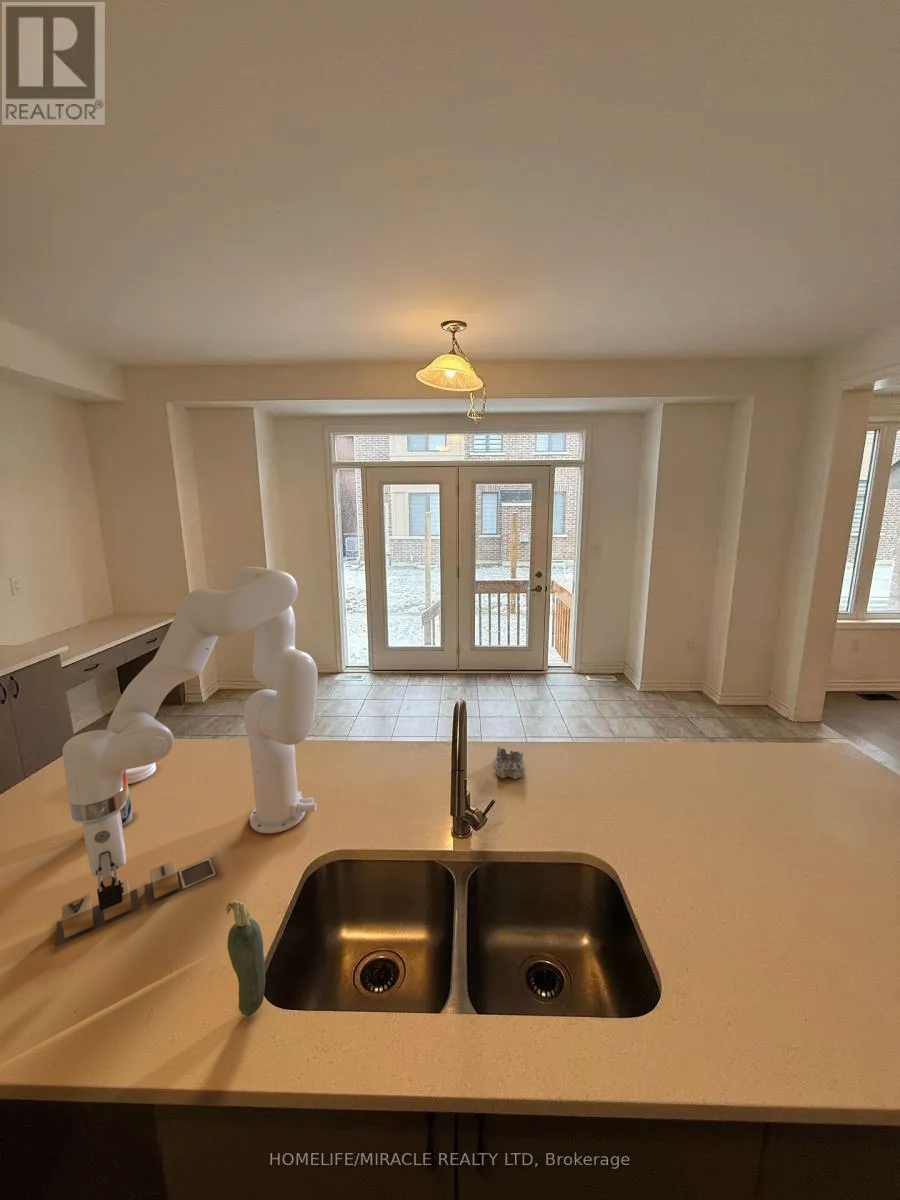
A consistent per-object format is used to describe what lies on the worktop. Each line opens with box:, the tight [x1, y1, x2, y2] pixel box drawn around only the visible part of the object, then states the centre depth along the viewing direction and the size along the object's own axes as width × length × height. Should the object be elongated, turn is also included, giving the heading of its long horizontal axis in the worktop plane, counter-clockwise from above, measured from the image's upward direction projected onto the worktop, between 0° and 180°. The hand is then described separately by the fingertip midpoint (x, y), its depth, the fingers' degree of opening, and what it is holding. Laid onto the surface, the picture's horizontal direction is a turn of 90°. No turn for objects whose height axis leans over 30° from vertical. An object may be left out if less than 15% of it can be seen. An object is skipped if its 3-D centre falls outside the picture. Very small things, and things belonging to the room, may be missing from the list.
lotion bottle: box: [120, 770, 133, 827], centre depth 106 cm, size 6×6×20 cm
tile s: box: [103, 878, 132, 921], centre depth 84 cm, size 4×4×4 cm
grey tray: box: [144, 857, 219, 907], centre depth 91 cm, size 12×6×4 cm, turn 128°
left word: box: [55, 888, 141, 948], centre depth 83 cm, size 12×6×4 cm, turn 128°
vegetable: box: [225, 899, 266, 1020], centre depth 65 cm, size 4×4×20 cm
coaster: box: [126, 762, 157, 785], centre depth 127 cm, size 10×10×4 cm
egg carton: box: [495, 746, 524, 780], centre depth 130 cm, size 11×8×4 cm
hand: (110, 887), depth 83 cm, fingers open, 9 cm apart
